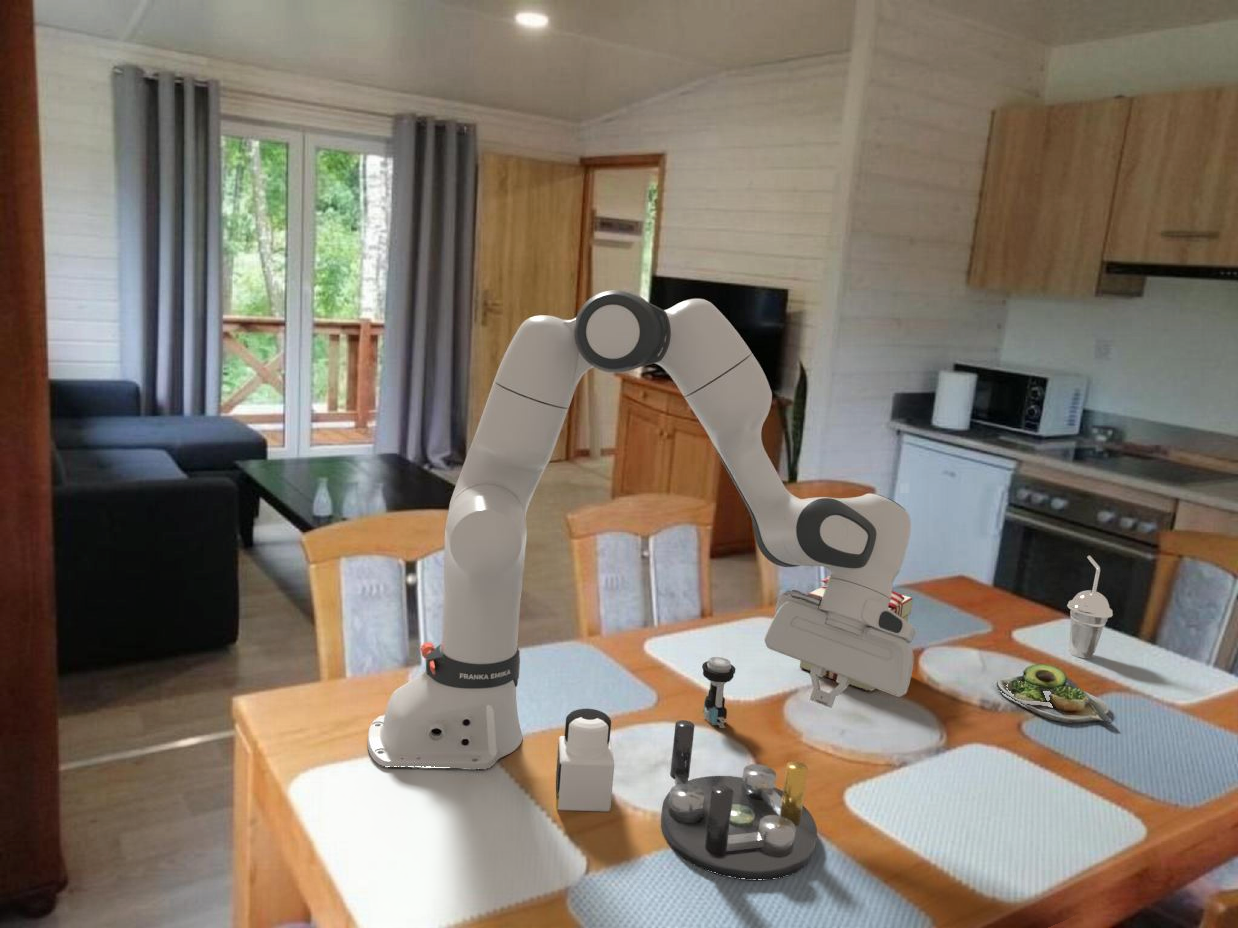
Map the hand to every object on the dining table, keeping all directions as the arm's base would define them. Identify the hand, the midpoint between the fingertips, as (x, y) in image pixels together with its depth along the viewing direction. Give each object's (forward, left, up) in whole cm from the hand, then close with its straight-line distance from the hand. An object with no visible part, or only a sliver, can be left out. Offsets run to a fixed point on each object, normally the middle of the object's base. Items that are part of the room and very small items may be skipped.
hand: (820, 703), depth 128 cm
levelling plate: (-14, -6, -14) cm, 20 cm away
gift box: (+30, +40, -14) cm, 52 cm away
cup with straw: (+85, +40, -14) cm, 95 cm away
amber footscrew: (-8, -5, -12) cm, 15 cm away
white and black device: (-32, +5, -14) cm, 35 cm away
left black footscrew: (-19, -1, -12) cm, 23 cm away
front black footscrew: (-15, -13, -12) cm, 23 cm away
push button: (-5, +23, -14) cm, 28 cm away
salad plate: (+61, +22, -15) cm, 67 cm away
